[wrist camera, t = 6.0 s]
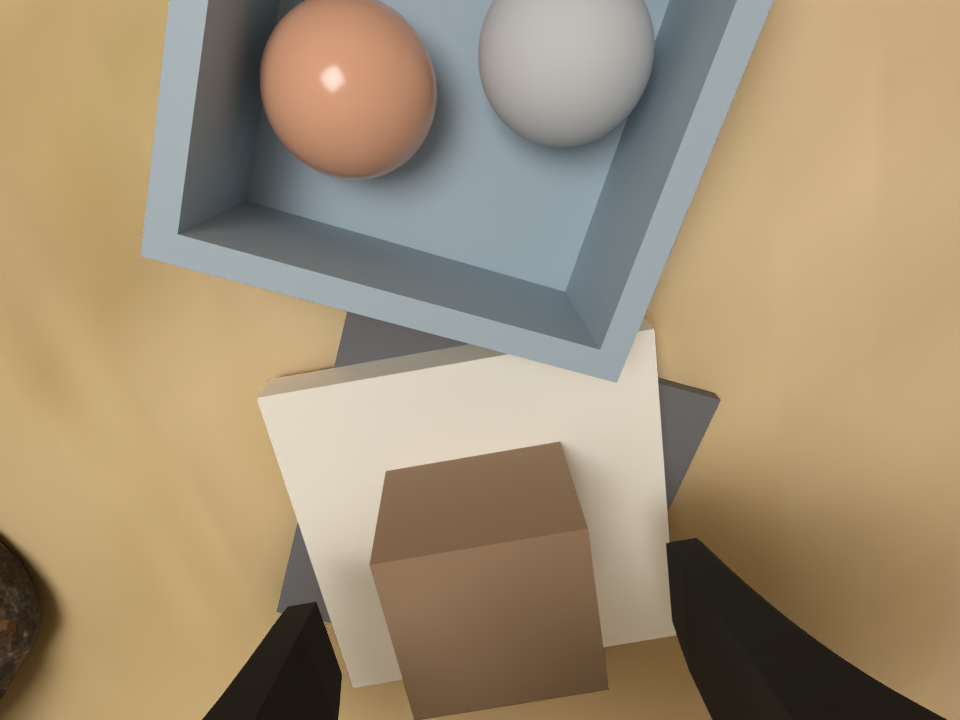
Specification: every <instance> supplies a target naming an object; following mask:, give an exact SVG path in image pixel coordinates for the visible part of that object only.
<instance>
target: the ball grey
mask: <svg viewBox="0 0 960 720" xmlns="http://www.w3.org/2000/svg"><path fill="white" fill-rule="evenodd" d="M654 47H655V44H654V31H653V26H652V20H651V17H650V14H649V11H648V8H647V6H646V4H645V1H644V0H494V1H493V2H492V4H491V6H490V8H489V10H488V12H487V14H486V17H485V20H484V23H483V26H482V29H481V34H480V39H479V48H478V66H479V72H480V78H481V82H482V86H483V89H484V92H485V94H486V97H487V99H488V101H489V103H490V105H491V106H492V108H493V110H494V111H495V113H496V114H497V115H498V117H499V118H500V119H501V120H502V121H503V122H504V123H505V124H506V125H507V126H508V127H509V128H510V129H511V130H512V131H514V132H515V133H516V134H518V135H519V136H521V137H523V138H525V139H526V140H529V141H531V142H534V143H536V144H540V145H544V146H549V147H574V146H579V145H583V144H586V143H590V142H593V141H595V140H597V139H599V138H601V137H603V136H604V135H606V134H608V133H609V132H611V131H612V130H613V129H615V128H616V127H617V126H618V125H619V124H621V123H622V122H623V121H624V119H625V118H626V117H627V116H628V115H629V114H630V113H631V112H632V110H633V109H634V108H635V106H636V105H637V103H638V102H639V100H640V98H641V96H642V95H643V93H644V91H645V88H646V86H647V84H648V81H649V78H650V74H651V71H652V66H653V60H654Z"/></svg>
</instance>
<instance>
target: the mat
mask: <svg viewBox="0 0 960 720" xmlns="http://www.w3.org/2000/svg"><path fill="white" fill-rule="evenodd" d="M463 345H469V344H468V343H465V342H461V341H457V340H453V339H450V338H446V337H442V336H438V335H435V334H431V333H427V332H423V331H420V330H416V329H412V328H408V327H405V326H401V325H397V324H393V323H390V322H386V321H382V320H378V319H375V318H371V317H367V316H363V315H360V314H356V313H352V312H348V311H347V316H346V320H345V324H344V328H343V333H342V337H341V341H340V345H339V350H338V354H337V358H336V362H335V367H334V368H337V367H343V366H348V365H354V364H360V363H366V362H371V361H377V360H383V359H388V358H394V357H400V356H406V355H411V354H417V353H423V352H429V351H434V350H440V349H446V348H452V347H457V346H463ZM658 387H659V401H660V415H661V429H662V443H663V457H664V471H665V485H666V499H667V511H668V509H669V507H670V505H671V503H672V501H673V499H674V497H675V495H676V493H677V491H678V488H679V486H680V484H681V482H682V480H683V478H684V476H685V474H686V472H687V470H688V467H689V465H690V463H691V461H692V459H693V457H694V455H695V453H696V451H697V449H698V446H699V444H700V442H701V440H702V438H703V436H704V434H705V432H706V430H707V428H708V426H709V423H710V421H711V419H712V417H713V415H714V413H715V411H716V409H717V407H718V405H719V402H720V399H719V398H718V397H717V396H716V395H715V393H712V392H708V391H704V390H701V389H697V388H693V387H690V386H686V385H682V384H679V383H675V382H671V381H667V380H664V379H660V378H658ZM311 602H317V605H318V608H319V610H320V613H321V616H322V619H323V621H325V622H331V620H330V617H329V614H328V611H327V608H326V605H325V602H324V599H323V596H322V593H321V590H320V587H319V584H318V581H317V578H316V575H315V572H314V569H313V566H312V563H311V560H310V557H309V554H308V551H307V548H306V545H305V542H304V539H303V536H302V533H301V530H300V527H299V524H297V528H296V532H295V536H294V541H293V545H292V549H291V553H290V558H289V562H288V566H287V570H286V574H285V579H284V583H283V587H282V591H281V596H280V600H279V604H278V608H277V612H279V613H283V612H284V611H285V609H286V608H287V607H288V606H293V605H299V604H305V603H311Z"/></svg>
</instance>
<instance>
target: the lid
mask: <svg viewBox="0 0 960 720" xmlns="http://www.w3.org/2000/svg"><path fill="white" fill-rule="evenodd" d="M257 400H258V404H259V407H260V410H261V413H262V416H263V419H264V422H265V425H266V428H267V431H268V434H269V437H270V440H271V443H272V446H273V449H274V452H275V455H276V458H277V461H278V464H279V467H280V470H281V473H282V476H283V479H284V482H285V485H286V488H287V491H288V494H289V497H290V500H291V503H292V506H293V509H294V512H295V515H296V518H297V521H298V524H299V527H300V530H301V533H302V536H303V539H304V542H305V545H306V548H307V551H308V554H309V557H310V560H311V563H312V566H313V569H314V572H315V575H316V578H317V581H318V584H319V587H320V590H321V593H322V596H323V599H324V602H325V605H326V608H327V611H328V614H329V617H330V620H331V623H332V626H333V629H334V632H335V635H336V638H337V641H338V644H339V647H340V650H341V653H342V656H343V659H344V662H345V665H346V668H347V671H348V674H349V677H350V680H351V683H352V686H353V688H356V687H362V686H368V685H374V684H381V683H387V682H393V681H399V680H403V682H404V686H405V689H406V692H407V696H408V699H409V703H410V706H411V710H412V713H413V716H414V720H422V719H428V718H434V717H441V716H447V715H453V714H459V713H466V712H472V711H478V710H484V709H490V708H497V707H503V706H509V705H515V704H521V703H528V702H534V701H540V700H546V699H553V698H559V697H565V696H571V695H577V694H584V693H590V692H596V691H602V690H609V688H608V680H607V672H606V664H605V657H604V649H603V647H608V646H615V645H621V644H627V643H633V642H639V641H645V640H652V639H658V638H664V637H670V636H676V631H675V628H674V625H673V622H672V614H671V602H670V589H669V577H668V564H667V552H666V543H669V542H670V541H669V527H668V513H667V499H666V485H665V471H664V457H663V443H662V429H661V415H660V401H659V387H658V373H657V359H656V345H655V331H654V328H653V327H652V326H651V325H650V324H649V322H648V321H647V320H646V319H645V318H643V321H642V323H641V325H640V328H639V330H638V333H637V335H636V338H635V340H634V343H633V345H632V347H631V350H630V352H629V355H628V357H627V360H626V362H625V365H624V367H623V369H622V372H621V374H620V377H619V379H618V382H617V383H615V382H611V381H607V380H604V379H600V378H596V377H592V376H589V375H585V374H581V373H577V372H574V371H570V370H566V369H562V368H559V367H555V366H551V365H547V364H544V363H540V362H536V361H532V360H529V359H525V358H521V357H517V356H513V355H510V354H506V353H502V352H498V351H495V350H491V349H487V348H483V347H480V346H476V345H472V344H469V345H463V346H457V347H452V348H446V349H440V350H434V351H429V352H423V353H417V354H411V355H406V356H400V357H394V358H388V359H383V360H377V361H371V362H366V363H360V364H354V365H348V366H343V367H337V368H331V369H325V370H320V371H314V372H308V373H302V374H297V375H291V376H285V377H279V378H274V379H269V380H268V381H267V383H266V384H265V386H264V387H263V389H262V391H261V392H260V394H259V395H258V397H257Z"/></svg>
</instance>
